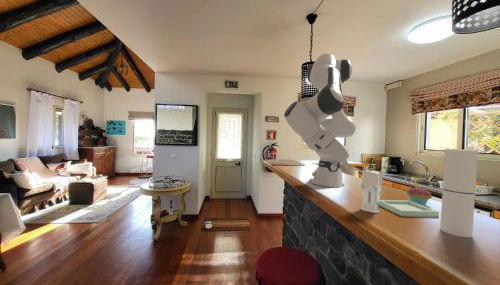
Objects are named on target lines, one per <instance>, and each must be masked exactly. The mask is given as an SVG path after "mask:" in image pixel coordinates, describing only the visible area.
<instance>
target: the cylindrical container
mask: <svg viewBox="0 0 500 285" xmlns="http://www.w3.org/2000/svg"><path fill="white" fill-rule="evenodd" d="M478 152H479V151H478V150H477V149H458V148H457V149H456V148H455V149H454V148H445V149H444V159H443V174H442V175H443V176H442V178H443V179H442V194H441V209H440V212H441V213H440V225H439V229H440V230H441V231H442V232H444V233H445V234H448V235H452V236H455V237H459V238H472V237H473V229H474V216H475V201H476V200H475V198H476V197H475V196H476V183H477V171H478V170H477V168H478V154H479V153H478Z"/></svg>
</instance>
